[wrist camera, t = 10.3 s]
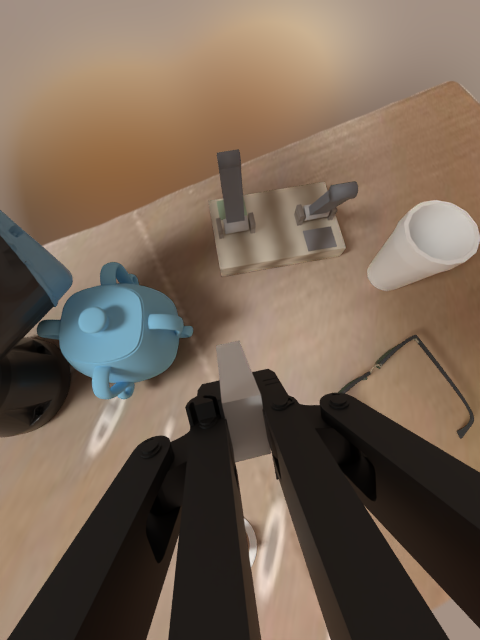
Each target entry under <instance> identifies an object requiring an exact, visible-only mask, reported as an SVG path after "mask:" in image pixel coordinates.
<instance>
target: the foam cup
mask: <svg viewBox="0 0 480 640" xmlns="http://www.w3.org/2000/svg"><path fill="white" fill-rule="evenodd" d="M479 242H480V235H479V231H478V227H477V224H476V223H475V222H474V220H473V219H472V218H471V217H470V215H469V214H468V213H467V212H466V211H464V210H463V209H461V208H459V207H458V206H456V205H454V204H453V203H449V202H444V201H439V200H432V201H427V202H421V203H419V204H418V205H417V206H415V207H414V208H412V209H411V210H410V211H409V212H408V213H407V214H406V215H405V216H404V217H403V218H402V219H401V220H400V221H399V222H398V224H397V226H396V228H395V230H394V231H393V233H392V234H391V235H390V237H389V238H388V240H387V241H386V242H385V244H384V245H383V247H382V248H381V249H380V251H379V252H378V254H377V255H376V256H375V258H374V259H373V260H372V262H371V264H370V265H369V267H368V270H367V274H368V279H369V280H370V282H371V284H372V285H373V286H375V287H376V288H378V289H380V290H384V291H390V290H395V289H398V288H401V287H403V286H406V285H408V284H411V283H414V282H416V281H419V280H421V279H424V278H427V277H429V276H432V275H434V274H437V273H440V272H444V271H449V270H451V269H453V268H455V267H456V266H458V265H460V264H462V263H464V262H465V261H467V260H468V259H469V258H470V257H471V256H473V255H474V254H475V253H476V252H477V248H478V245H479Z"/></svg>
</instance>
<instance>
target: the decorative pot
mask: <svg viewBox="0 0 480 640" xmlns="http://www.w3.org/2000/svg"><path fill="white" fill-rule="evenodd" d="M116 278H117V280H118V281H119V283H120V284H116ZM100 282H101V286H96V287H92V288H88V289H84V290H81V291H79V292H77V293H75V294H73V295H72V296H71V297H70V298H69V299H68V300H67V301H66V303H65V305H64V308H63V311H62V316H61V320H43V321H41V322H40V323H39V324H38V327H37V334H38V336H40V337H44V338H50V339H57V340H59V344H60V349H61V352H62V354H63V355H64V357H65V358H66V360H67V361H68V362H69V363H70V364H71V365H72V366H73V367H74V368H75V369H76V370H78V371H79V372H81V373H83V374H84V375H87V376H89V377H92V388H93V391H94V394H95V395H96V396H97V397H98V398H101V399H111V398H114V397H116V396H118V397H119V398H121V399H127V398H129V397H131V396H132V394H133V391H134V382H140V381H144V380H147V379H150V378H152V377H155V376H157V375H159V374H161V373H162V372H164V371H165V370H167V369H168V368H169V367H170V365H171V364H172V363H173V361H174V359H175V357H176V355H177V350H178V344H179V338H187V337H191V336H192V334H193V328H192V326H184V324H183V320H182V318H181V317H179V316H178V313H177V309H176V307H175V304H174V303H173V302H172V300H171V299H170V298H168V297H167V296H166V295H165V294H163V293H161V292H159V291H157V290H155V289H152V288H149V287H145V286H141V285H139V282H138V279H137V277H136V276H135V275H133V274H128V272H127V271H126V269H125V268H124V267H123V266H122V265H121V264H119V263H116V262H110V263H107V264H105V265H104V266H103V267H102V269H101V273H100ZM109 382H111V383H116V384H115V385H113V386H112V387H111V388H110V387H109Z"/></svg>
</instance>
